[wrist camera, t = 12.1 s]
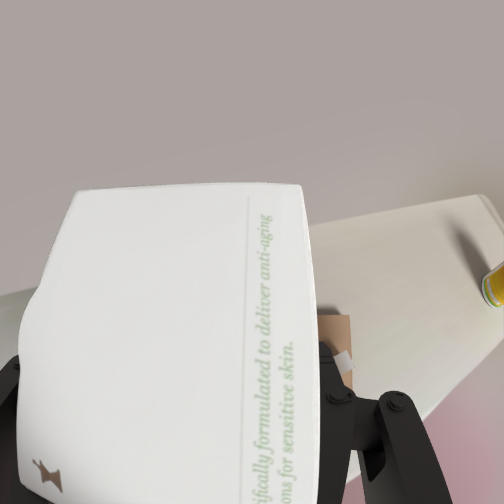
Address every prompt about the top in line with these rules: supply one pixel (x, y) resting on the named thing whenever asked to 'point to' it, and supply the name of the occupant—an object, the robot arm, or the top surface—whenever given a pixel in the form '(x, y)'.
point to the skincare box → (173, 350)
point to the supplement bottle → (494, 286)
